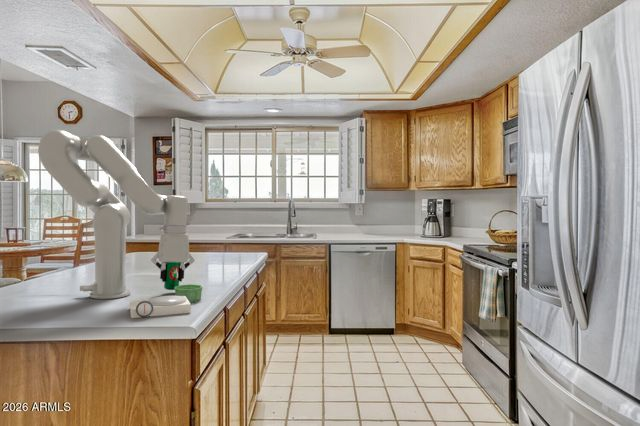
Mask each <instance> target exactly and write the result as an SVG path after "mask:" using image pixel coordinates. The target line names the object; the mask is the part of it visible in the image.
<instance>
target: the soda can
mask: <svg viewBox="0 0 640 426" xmlns="http://www.w3.org/2000/svg"><path fill="white" fill-rule="evenodd" d="M180 268H181V266H180V263H176V262H172V263H166V265H165V281H164V282H163V288H164V289H165V290H168V291H175V289H174V288H175V287H176V286H180V281H179V279H180Z"/></svg>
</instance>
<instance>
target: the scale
mask: <svg viewBox="0 0 640 426" xmlns="http://www.w3.org/2000/svg"><path fill="white" fill-rule="evenodd" d="M191 305H192V304H191V302H189V301H188V299H187V298H186V296H175V295H161V296H155V297H151V298H140V299H130V300H129V309H130V310H129V311H130V319H138V318H147V317H149V316H150V317H157V316H158V317H159V316H170V315H178V314H180V315H181V314H189V313H190V314H191V312H192V311H191V310H192V309H191V308H192V307H191Z"/></svg>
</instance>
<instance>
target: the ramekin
mask: <svg viewBox="0 0 640 426" xmlns="http://www.w3.org/2000/svg"><path fill="white" fill-rule="evenodd" d="M174 289H175V290H174V293H175V295H174V296H186V298H187V299H188V301H189V302H190V303H194V302H198V301H200V300H201V299H202V291H203V285H201V284H195V283H194V284H191V283H190V284H189V283H188V284H179V286H176V287H175V288H174Z"/></svg>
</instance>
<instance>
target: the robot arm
mask: <svg viewBox="0 0 640 426" xmlns="http://www.w3.org/2000/svg"><path fill="white" fill-rule="evenodd" d="M37 150H38V153H37V154H38V158H39V160H40V161H39V162H41V164H42V167H44V169H45V171H47V172H48V173H49V175H50V176H51V177H52V178H53V179H54V180H55V181H56V182H57V184H59V186H60V187H61V188H63V190H64V191H65V192H66V193H67V194H68V195H69V196H70V197H71V198H72V200H73V201H74V202H75V203H77V205H79V206H80V207H84V208H89V210H91V212H93V220H92V223H93V231H94V232H93V233H94V234H93V235H94V282H93V283H91V284H89V285H87V284H83V285H79V291H80V292H84V293H85V292H90V293H89V297H90V298H91V299H97V300H98V299H99V300H108V299H117V298H118V299H119V298H124V297H127V296H129V295H131V290H130V288H129V289H128V288H127V285H126V284H127V283H126V282H127V277H126V276H127V274H126V273H127V270H126V269H127V260H126V259H127V257H126V256H127V244H126V243H127V241H126V240H127V239H126V227H127V226H128V225H129V223H130V222H131V217H132V216H131V213H130V210H129V209H128V207H127V206H126V205H125V204H124V203H123V202H122V201H121V199H119V198H118V197H117V196H116V195H115V194H114V193H113V191H111V190H110V188H109V187H108V186H107V185H105V184H104V183H102V182H100V181H97V180H94V179H92V178H91V176H89V175H88V173H86V172H85V171H84V170H83V168H82V167H81V166H80V165H79V164H78V163H77V162H75V160H79V161H88V162H94V163H95V164H97V166H98V167H99V168H101V169H102V171H103V172H104V173H105V174H106V175H107V176H108V177H109V178H110V179H111V180H112V181H113V182H114V183H115V185H116V186H117V187H118V188H119V189H120V190H121V191H122V193H123V194H124V195H125V196H126V197H127V198H128V199H129V200H130V202H132V203H133V205H135V206H136V207H137V208H138V209H139V210H140V211H141V212H142V213H144V214H145V215H148V216H156V215H164V218H163V219H164V220H163V225H161V226H159V228H158V229H159V230H158V231H162V232H163V233H161V234H160V239H159V244H158V251H157V253H155V255H154V256H153V257H151V259H150V262H151V263H153V264H154V265H155V266H156V267H157V268H158V269H159V270H160V277H159V279H160V280H161V281H162V283H164V281H165V265H166V263H172V262H176V263H180V279H179V283H181V282H182V281H183V279H184V278H185V270H186V269H187V268H188V267H189V266H191V265H192V264H193V263H195V258H194V257H193V256H192V255H191V253H190V240H189V239H190V238H189V234H188V233H186V232H187V220H188V203H189V202H188V198H187V196H183V195H172V194H171V195H163V194H158V193H157V192H155V191H154V190H153V189H152V187H151V186H149V185H148V183H147V182H146V181H145V180H144V179H143V178H142V176H141V175H140V173H139V172H138V170H137V167H135V165H134V164H133V163H132V162H131V161H130V160H129V159H128V157H126V156H125V155H124V154H123V153H122V151H120V149H119V148H118V147H117V145H116V144H115V142H114V141H113V140H112V139H110V138H109V137H107V136H104V135H102V134H95V135H92V136H89V137H88V136H83V135H82V136H80V135H75V134H72V133H70V132H68V131H66V130H62V129H51V130H48V131H46V132H45V133H44V134H43V135H42V137H41V138H40V140H39V143H38V149H37ZM160 262H161V263H160Z"/></svg>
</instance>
